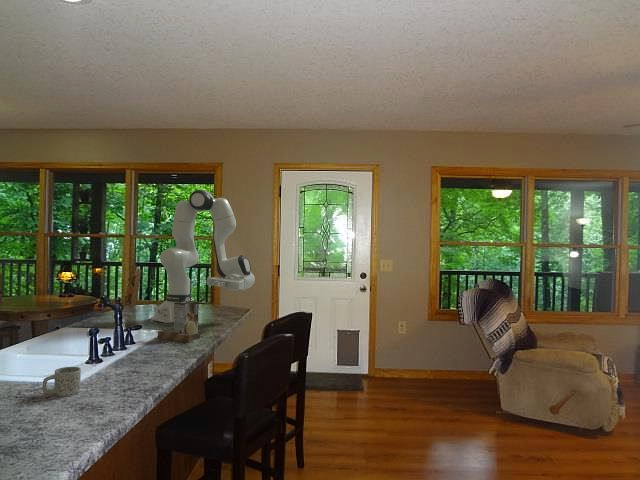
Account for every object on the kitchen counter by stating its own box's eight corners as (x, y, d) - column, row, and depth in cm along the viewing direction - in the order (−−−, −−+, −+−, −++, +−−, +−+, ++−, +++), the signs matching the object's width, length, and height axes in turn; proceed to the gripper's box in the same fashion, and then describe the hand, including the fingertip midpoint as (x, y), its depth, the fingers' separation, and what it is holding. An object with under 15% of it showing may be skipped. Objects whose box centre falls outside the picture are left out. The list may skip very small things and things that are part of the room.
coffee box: (187, 335, 218) (188, 300, 218) (198, 336, 215) (199, 301, 215) (173, 338, 210) (174, 302, 210) (184, 340, 207) (185, 303, 207)
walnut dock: (157, 337, 211) (157, 331, 211) (173, 334, 220) (173, 327, 220) (189, 343, 203) (189, 336, 203) (204, 338, 212) (204, 332, 212)
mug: (74, 387, 142) (74, 365, 142) (84, 392, 138) (84, 369, 138) (37, 395, 134) (38, 372, 134) (47, 401, 130) (47, 377, 130)
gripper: (216, 274, 250) (199, 275, 238) (249, 278, 241) (232, 280, 229) (216, 285, 250) (198, 288, 238) (248, 290, 241) (231, 293, 229)
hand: (215, 284), depth 233 cm, fingers closed
